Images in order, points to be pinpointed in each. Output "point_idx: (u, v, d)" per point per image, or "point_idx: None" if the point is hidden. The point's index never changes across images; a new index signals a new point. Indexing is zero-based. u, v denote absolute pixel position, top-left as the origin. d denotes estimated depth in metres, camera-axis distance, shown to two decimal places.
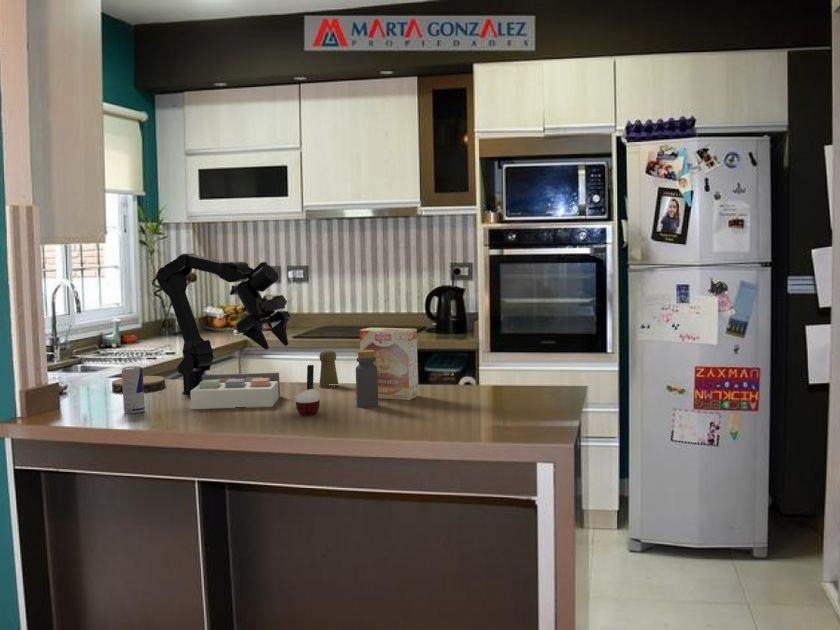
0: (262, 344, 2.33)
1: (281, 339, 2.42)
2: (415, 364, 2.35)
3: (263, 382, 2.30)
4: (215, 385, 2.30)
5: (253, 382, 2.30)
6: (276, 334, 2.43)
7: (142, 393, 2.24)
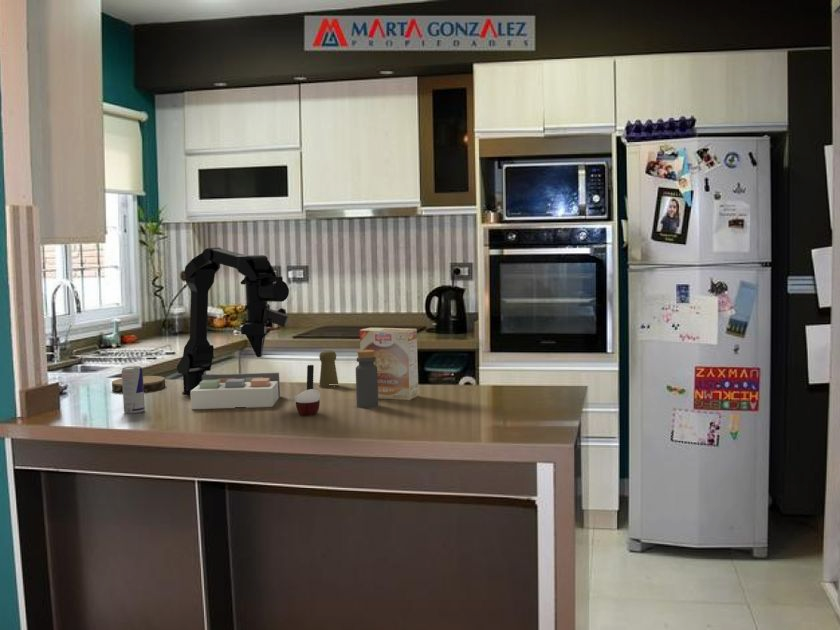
0: (257, 351, 2.31)
1: None
2: (415, 364, 2.35)
3: (263, 382, 2.30)
4: (215, 385, 2.30)
5: (253, 382, 2.30)
6: None
7: (142, 393, 2.24)
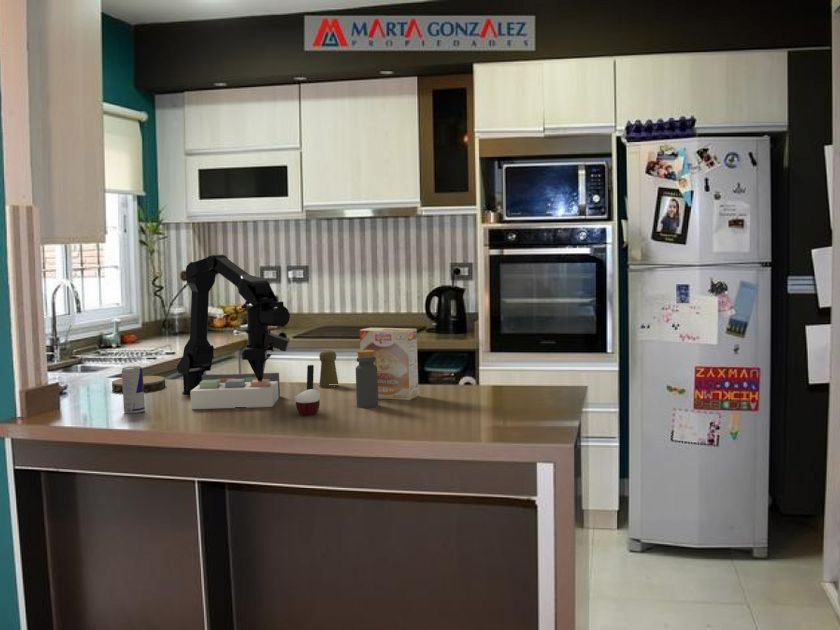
0: (258, 375, 2.32)
1: None
2: (415, 364, 2.35)
3: (263, 383, 2.30)
4: (215, 385, 2.30)
5: (253, 383, 2.30)
6: None
7: (142, 393, 2.24)
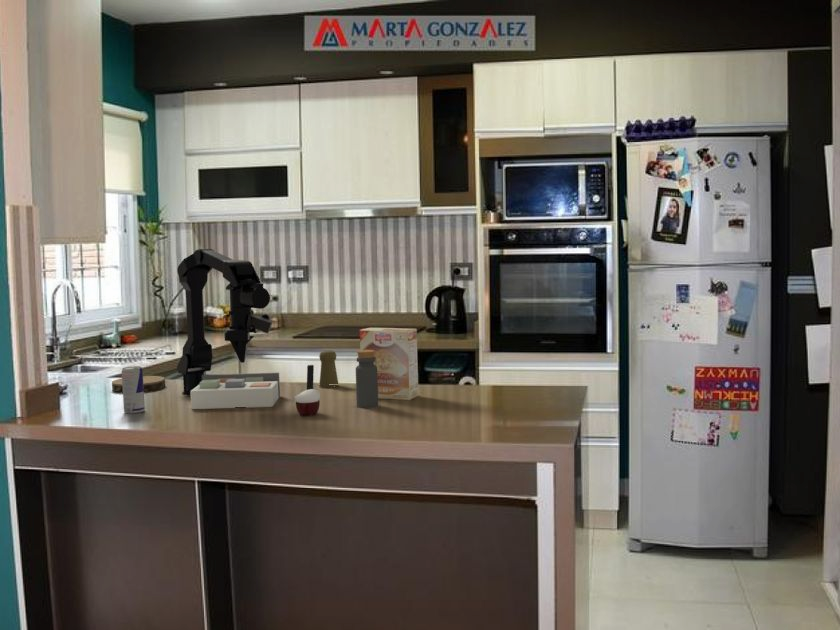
0: (240, 356, 2.31)
1: None
2: (415, 364, 2.35)
3: None
4: (215, 385, 2.30)
5: None
6: None
7: (142, 393, 2.24)
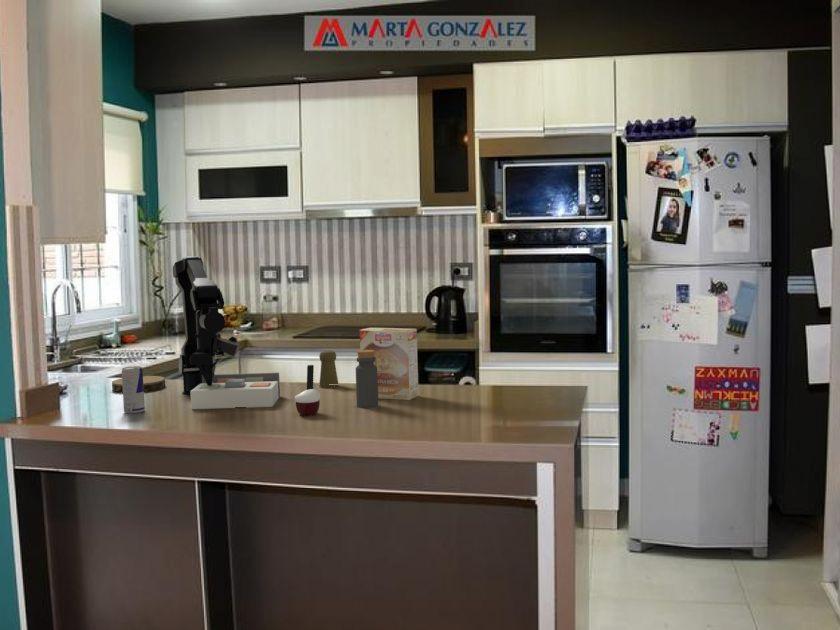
0: (207, 379, 2.31)
1: None
2: (415, 364, 2.35)
3: None
4: None
5: None
6: None
7: (142, 393, 2.24)
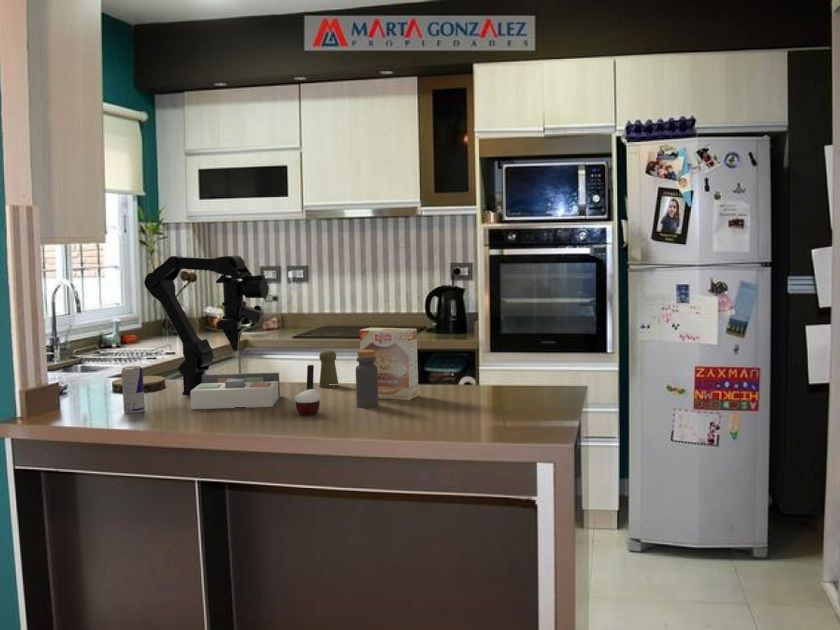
0: (233, 345, 2.47)
1: None
2: (415, 364, 2.35)
3: None
4: None
5: None
6: None
7: (142, 393, 2.24)
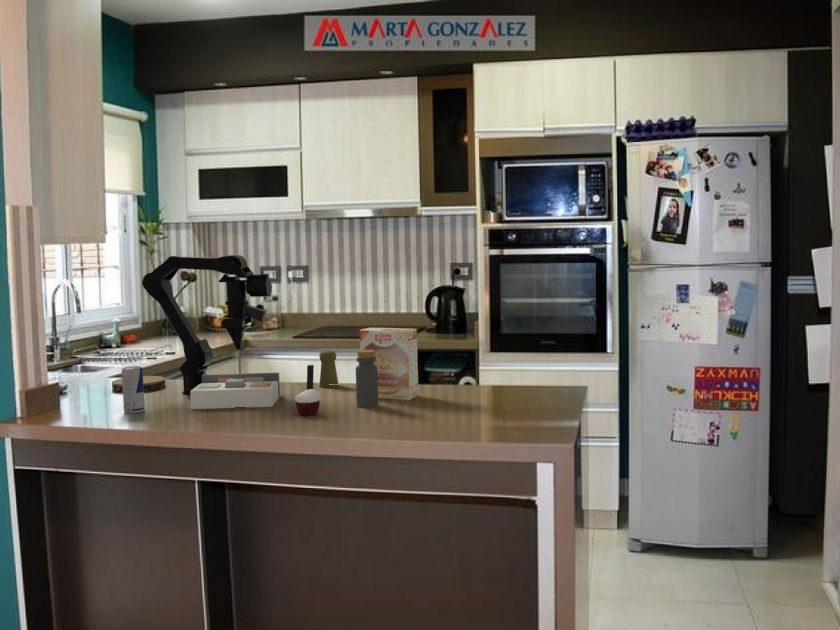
0: (237, 343, 2.49)
1: None
2: (415, 364, 2.35)
3: None
4: None
5: None
6: None
7: (142, 393, 2.24)
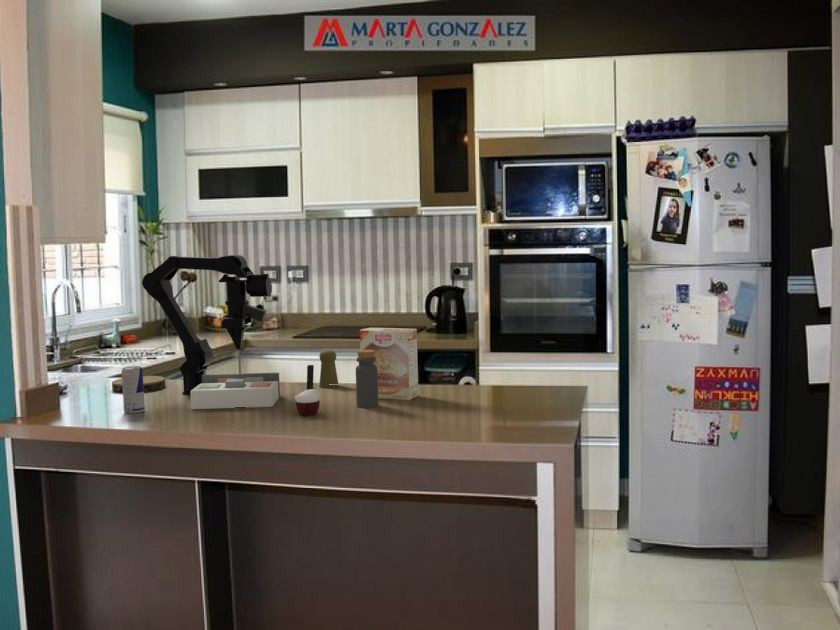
0: (237, 343, 2.49)
1: None
2: (415, 364, 2.35)
3: None
4: None
5: None
6: None
7: (142, 393, 2.24)
